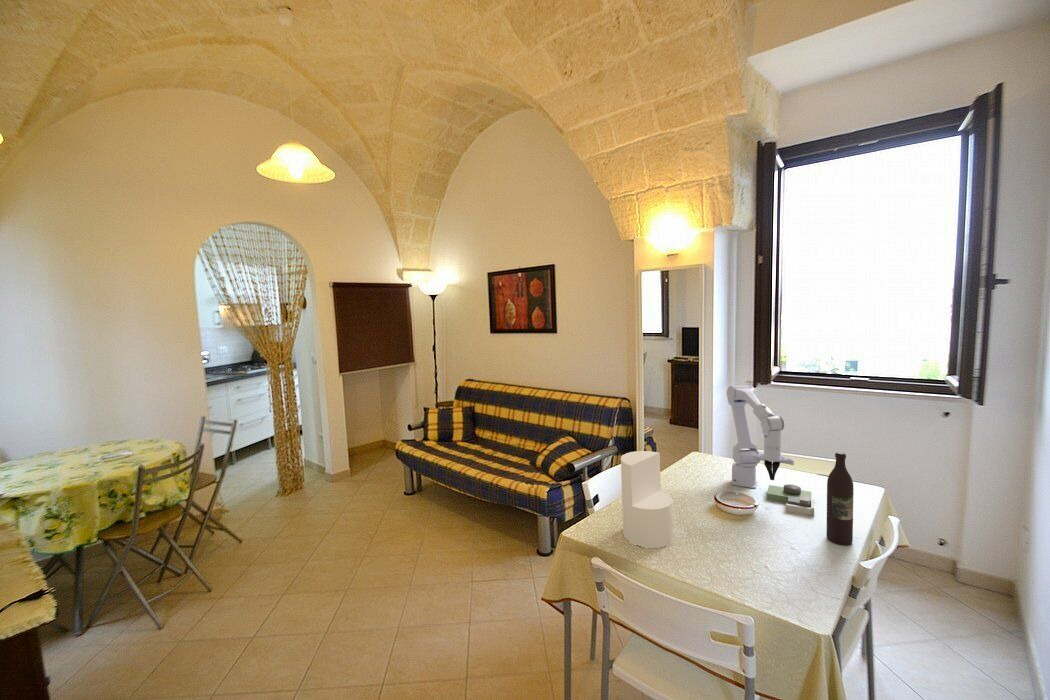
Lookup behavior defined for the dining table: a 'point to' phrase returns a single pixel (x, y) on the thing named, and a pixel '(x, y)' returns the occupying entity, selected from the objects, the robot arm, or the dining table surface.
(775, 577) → the dining table surface
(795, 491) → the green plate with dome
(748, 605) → the dining table surface
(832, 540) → the wine bottle
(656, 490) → the white stepped pillar
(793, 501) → the grey stepped block
